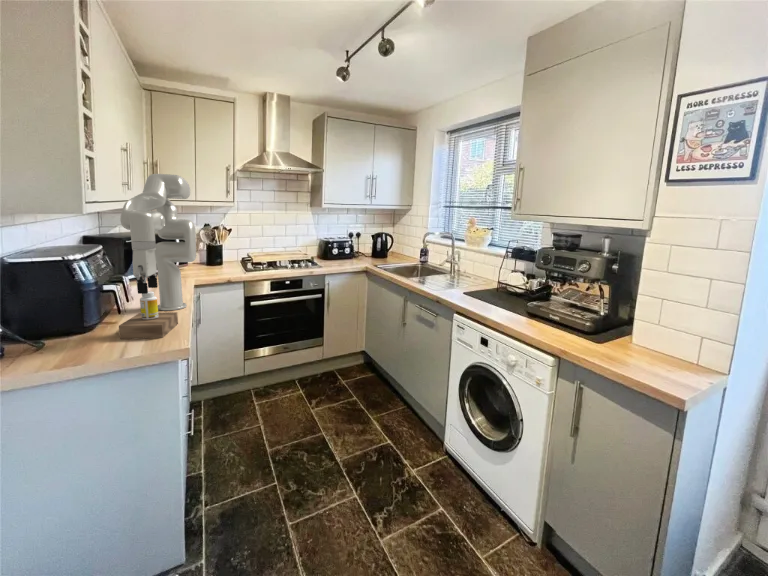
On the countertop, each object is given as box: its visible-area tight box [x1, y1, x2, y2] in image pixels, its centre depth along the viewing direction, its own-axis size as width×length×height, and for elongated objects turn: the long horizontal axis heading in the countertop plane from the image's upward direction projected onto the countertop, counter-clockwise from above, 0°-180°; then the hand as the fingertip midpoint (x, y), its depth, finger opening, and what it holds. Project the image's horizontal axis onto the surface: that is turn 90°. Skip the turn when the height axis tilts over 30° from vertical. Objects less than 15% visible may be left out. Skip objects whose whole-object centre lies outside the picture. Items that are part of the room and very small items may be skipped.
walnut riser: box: [118, 311, 179, 340], centre depth 144 cm, size 18×14×5 cm
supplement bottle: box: [139, 290, 159, 320], centre depth 143 cm, size 6×6×10 cm
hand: (148, 290), depth 142 cm, fingers open, 9 cm apart
